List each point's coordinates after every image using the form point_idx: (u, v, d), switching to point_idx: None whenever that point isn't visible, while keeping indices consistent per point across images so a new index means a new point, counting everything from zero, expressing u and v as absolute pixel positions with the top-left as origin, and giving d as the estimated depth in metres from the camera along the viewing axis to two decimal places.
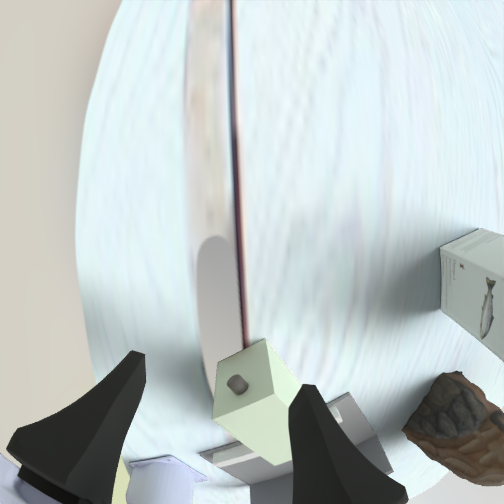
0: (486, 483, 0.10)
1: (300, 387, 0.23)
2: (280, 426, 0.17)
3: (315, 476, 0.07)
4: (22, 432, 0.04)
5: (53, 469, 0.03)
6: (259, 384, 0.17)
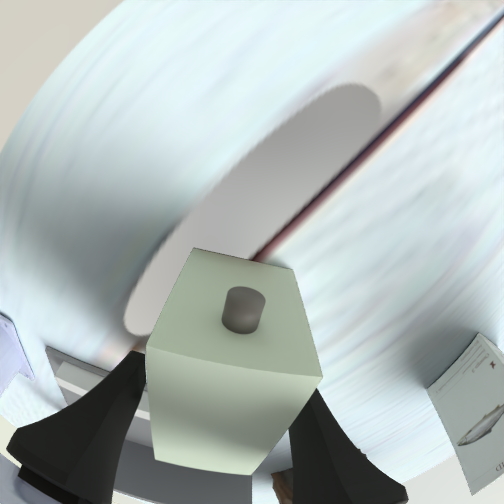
0: None
1: None
2: (246, 429, 0.08)
3: (315, 476, 0.07)
4: (21, 432, 0.04)
5: (53, 469, 0.03)
6: (284, 338, 0.08)
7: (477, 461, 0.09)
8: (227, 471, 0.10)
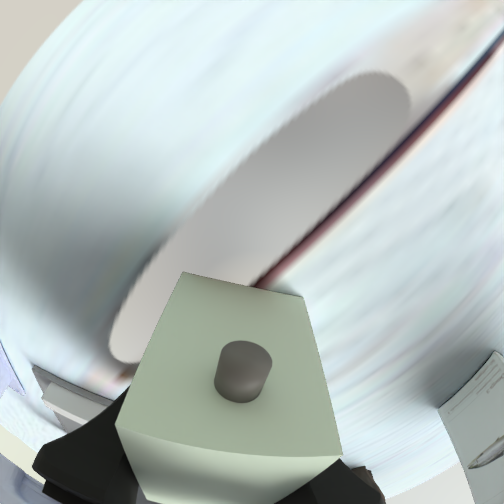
0: None
1: None
2: (247, 492, 0.06)
3: None
4: (49, 449, 0.04)
5: (88, 487, 0.03)
6: (295, 404, 0.06)
7: (487, 484, 0.06)
8: None
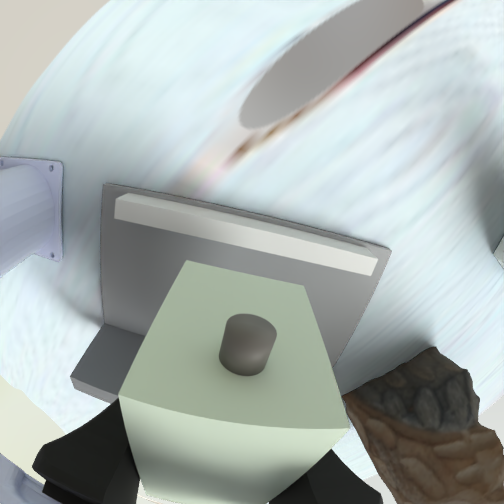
0: None
1: None
2: (250, 478, 0.06)
3: None
4: (49, 449, 0.04)
5: (88, 487, 0.03)
6: (300, 378, 0.06)
7: None
8: None
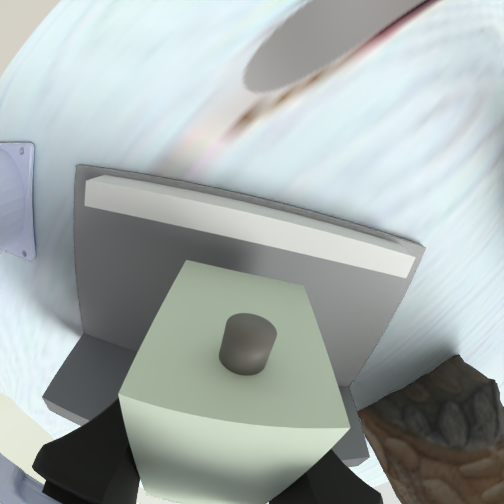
0: None
1: None
2: (251, 478, 0.06)
3: None
4: (49, 449, 0.04)
5: (88, 487, 0.03)
6: (300, 378, 0.06)
7: None
8: None
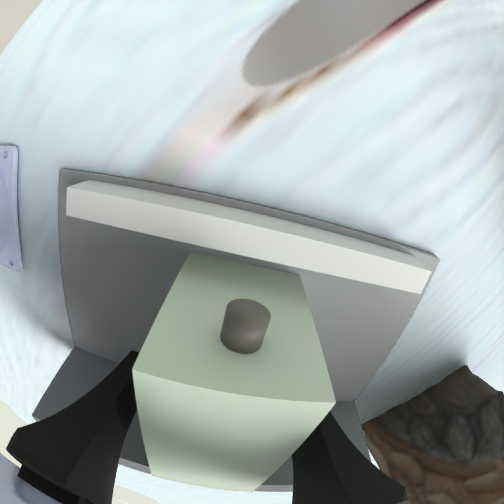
0: None
1: None
2: (248, 453, 0.07)
3: (315, 476, 0.07)
4: (22, 432, 0.04)
5: (53, 469, 0.03)
6: (292, 357, 0.07)
7: None
8: (228, 488, 0.09)
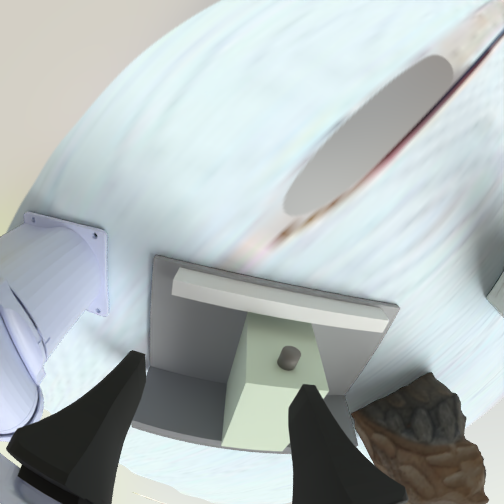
0: None
1: None
2: (287, 419, 0.15)
3: (315, 476, 0.07)
4: (22, 432, 0.04)
5: (53, 469, 0.03)
6: (309, 371, 0.15)
7: None
8: (268, 449, 0.17)
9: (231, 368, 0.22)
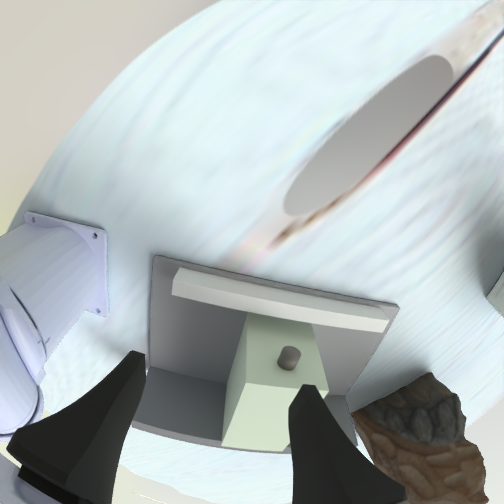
0: None
1: None
2: (287, 419, 0.15)
3: (315, 476, 0.07)
4: (22, 432, 0.04)
5: (53, 469, 0.03)
6: (309, 371, 0.15)
7: None
8: (268, 449, 0.17)
9: (231, 368, 0.22)
